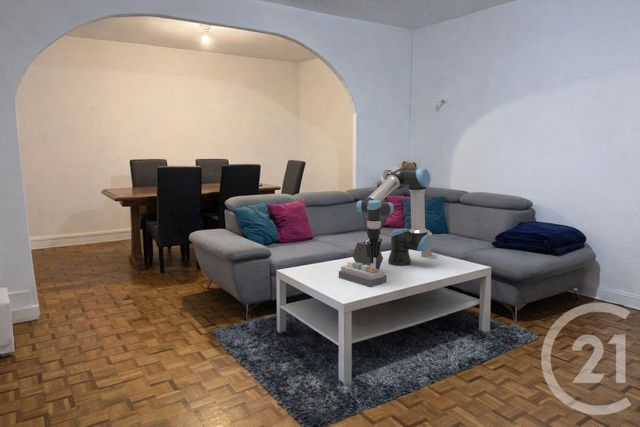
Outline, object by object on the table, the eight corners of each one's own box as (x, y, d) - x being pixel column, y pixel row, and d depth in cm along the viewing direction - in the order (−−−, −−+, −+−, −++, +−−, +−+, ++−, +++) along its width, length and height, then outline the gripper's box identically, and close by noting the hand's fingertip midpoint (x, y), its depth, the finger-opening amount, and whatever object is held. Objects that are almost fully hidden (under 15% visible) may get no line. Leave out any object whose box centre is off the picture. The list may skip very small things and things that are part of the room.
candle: (435, 259, 314) (436, 231, 311) (419, 256, 324) (420, 228, 321) (441, 257, 318) (442, 230, 316) (424, 254, 329) (425, 227, 326)
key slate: (358, 267, 269) (358, 262, 268) (363, 268, 266) (363, 263, 265) (354, 268, 266) (354, 263, 266) (359, 270, 263) (359, 265, 263)
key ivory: (352, 265, 273) (352, 260, 272) (356, 266, 270) (356, 261, 269) (347, 266, 270) (347, 261, 270) (352, 268, 267) (352, 263, 267)
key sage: (365, 269, 265) (365, 264, 264) (370, 270, 262) (370, 265, 261) (360, 270, 262) (361, 265, 262) (366, 272, 259) (366, 267, 259)
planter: (386, 266, 278) (373, 235, 284) (377, 268, 273) (365, 237, 279) (369, 275, 290) (358, 246, 296) (361, 278, 285) (349, 248, 291)
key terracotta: (372, 272, 261) (372, 267, 260) (377, 274, 258) (378, 269, 257) (368, 274, 258) (368, 268, 258) (373, 275, 255) (373, 270, 255)
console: (354, 273, 279) (354, 263, 278) (386, 282, 260) (386, 271, 259) (338, 277, 269) (338, 267, 268) (370, 287, 251) (370, 275, 250)
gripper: (376, 225, 261) (375, 265, 265) (361, 228, 253) (360, 269, 256) (386, 227, 256) (385, 267, 259) (371, 230, 247) (370, 271, 250)
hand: (372, 268), depth 257 cm, fingers closed
